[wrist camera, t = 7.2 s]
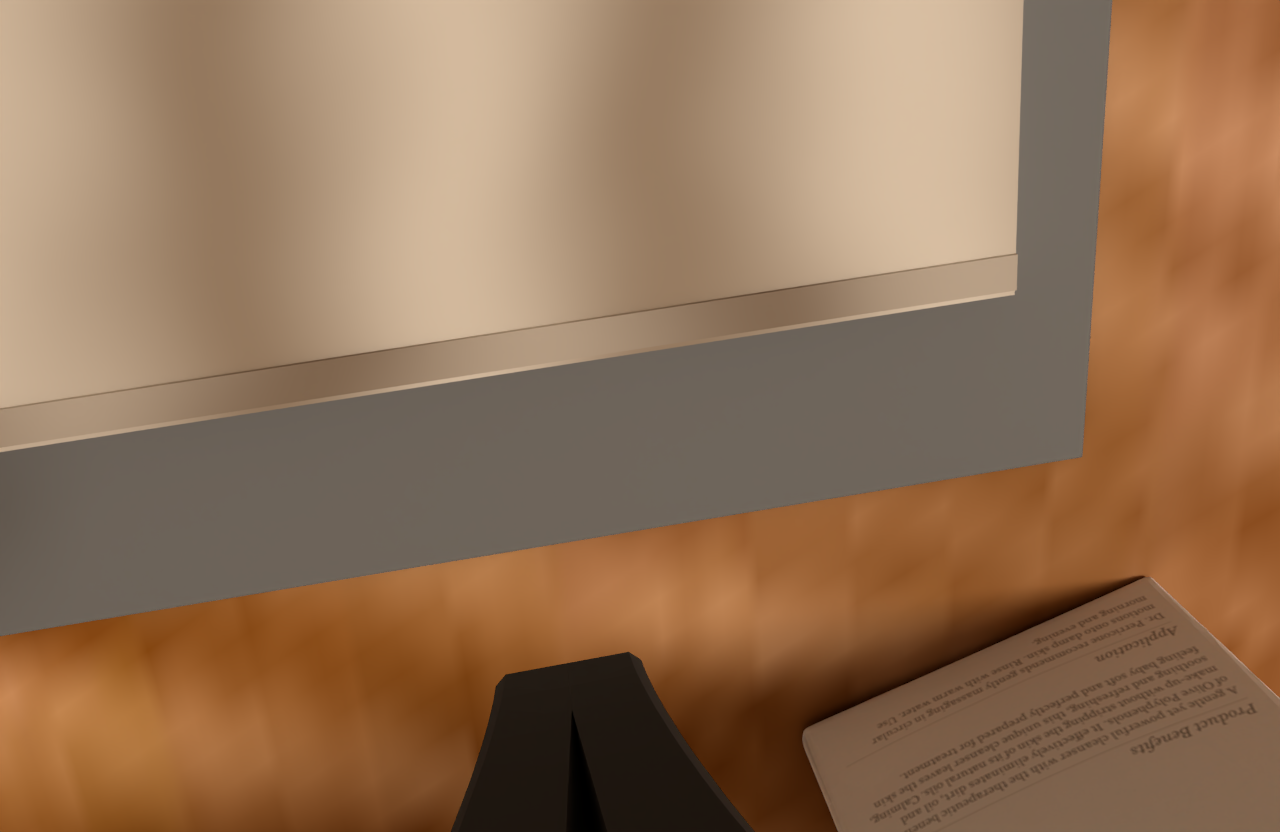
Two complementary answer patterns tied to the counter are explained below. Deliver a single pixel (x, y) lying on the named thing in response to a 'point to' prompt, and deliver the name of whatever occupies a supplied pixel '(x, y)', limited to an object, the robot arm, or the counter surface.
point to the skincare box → (1065, 733)
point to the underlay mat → (595, 422)
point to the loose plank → (473, 189)
